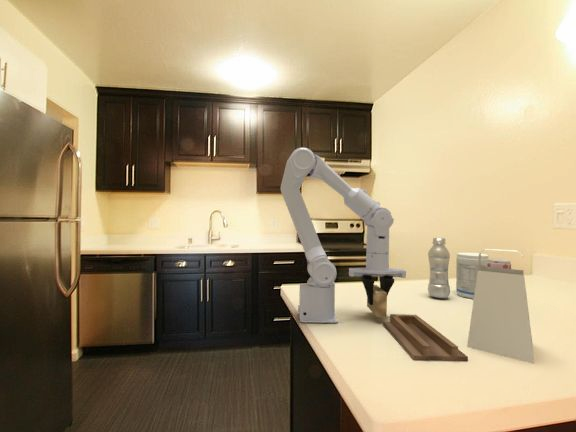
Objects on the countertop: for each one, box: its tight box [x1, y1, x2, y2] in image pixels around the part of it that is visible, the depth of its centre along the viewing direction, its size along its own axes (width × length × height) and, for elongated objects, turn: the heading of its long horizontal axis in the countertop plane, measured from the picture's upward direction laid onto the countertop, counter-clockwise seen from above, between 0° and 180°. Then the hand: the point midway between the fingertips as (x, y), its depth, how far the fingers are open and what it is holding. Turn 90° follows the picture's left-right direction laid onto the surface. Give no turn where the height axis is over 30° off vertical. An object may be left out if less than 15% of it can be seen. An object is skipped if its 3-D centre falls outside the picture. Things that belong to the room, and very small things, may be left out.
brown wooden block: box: [366, 284, 388, 318], centre depth 77 cm, size 3×9×6 cm, turn 179°
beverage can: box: [487, 257, 512, 269], centre depth 83 cm, size 6×6×15 cm
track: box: [382, 313, 469, 362], centre depth 63 cm, size 10×18×3 cm, turn 179°
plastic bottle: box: [427, 237, 451, 300], centre depth 98 cm, size 6×7×20 cm
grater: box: [466, 248, 535, 364], centre depth 61 cm, size 10×10×20 cm
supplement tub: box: [455, 251, 489, 300], centre depth 100 cm, size 10×10×15 cm
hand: (376, 304), depth 77 cm, fingers closed on brown wooden block, 3 cm apart
